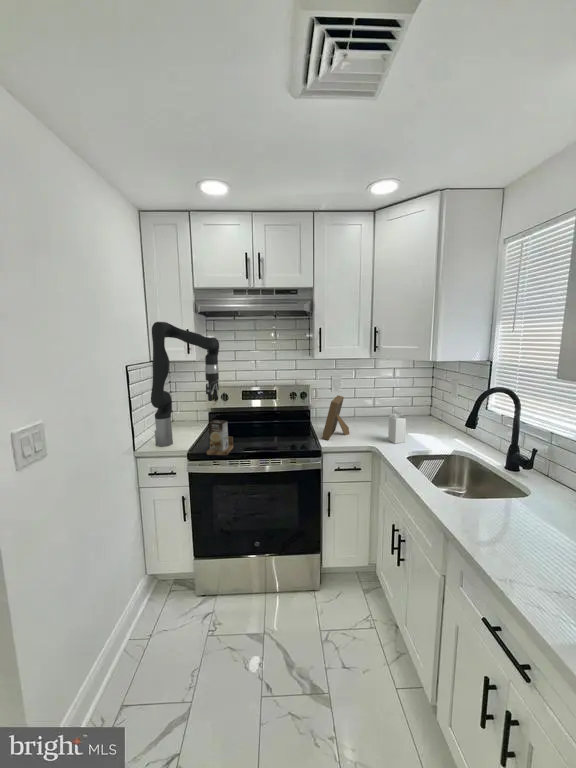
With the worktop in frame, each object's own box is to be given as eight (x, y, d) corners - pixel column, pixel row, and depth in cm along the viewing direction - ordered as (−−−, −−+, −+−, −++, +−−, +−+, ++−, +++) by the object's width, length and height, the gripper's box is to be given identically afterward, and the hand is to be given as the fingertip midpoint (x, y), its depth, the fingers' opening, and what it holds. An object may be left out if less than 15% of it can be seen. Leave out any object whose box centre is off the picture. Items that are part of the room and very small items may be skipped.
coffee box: (209, 449, 186) (207, 422, 183) (215, 445, 192) (213, 419, 189) (223, 451, 183) (222, 423, 180) (229, 447, 189) (227, 420, 186)
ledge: (206, 454, 183) (206, 442, 182) (213, 447, 195) (213, 436, 194) (227, 455, 182) (226, 443, 181) (233, 447, 194) (232, 436, 193)
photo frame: (321, 439, 205) (322, 400, 201) (329, 430, 225) (329, 394, 222) (345, 442, 200) (346, 402, 197) (350, 432, 221) (351, 396, 217)
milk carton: (397, 439, 203) (398, 409, 200) (405, 442, 197) (406, 412, 194) (388, 440, 201) (388, 410, 198) (395, 444, 194) (396, 413, 192)
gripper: (210, 370, 196) (211, 396, 199) (200, 373, 182) (202, 401, 185) (222, 370, 195) (223, 397, 198) (213, 373, 181) (214, 402, 184)
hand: (212, 399), depth 191 cm, fingers open, 8 cm apart
